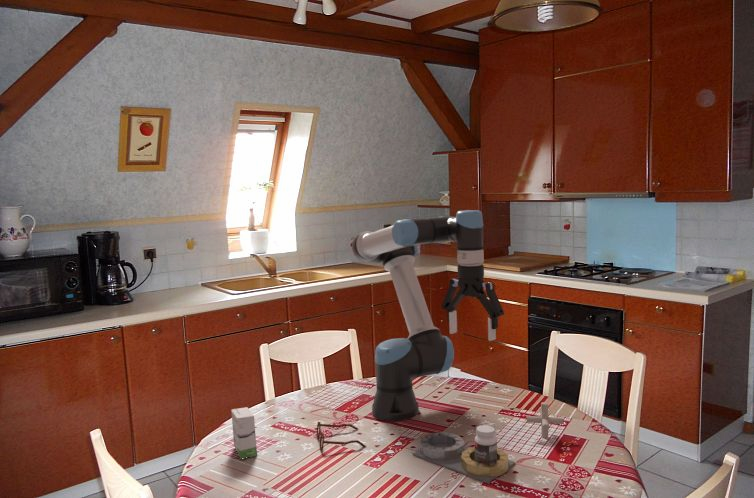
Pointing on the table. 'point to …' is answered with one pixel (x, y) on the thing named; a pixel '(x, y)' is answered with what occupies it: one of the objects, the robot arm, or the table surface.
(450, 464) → the slate board
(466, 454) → the brass socket
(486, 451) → the pill bottle
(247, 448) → the ink box
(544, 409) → the pipe connector
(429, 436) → the grey socket
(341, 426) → the glasses
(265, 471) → the table surface
